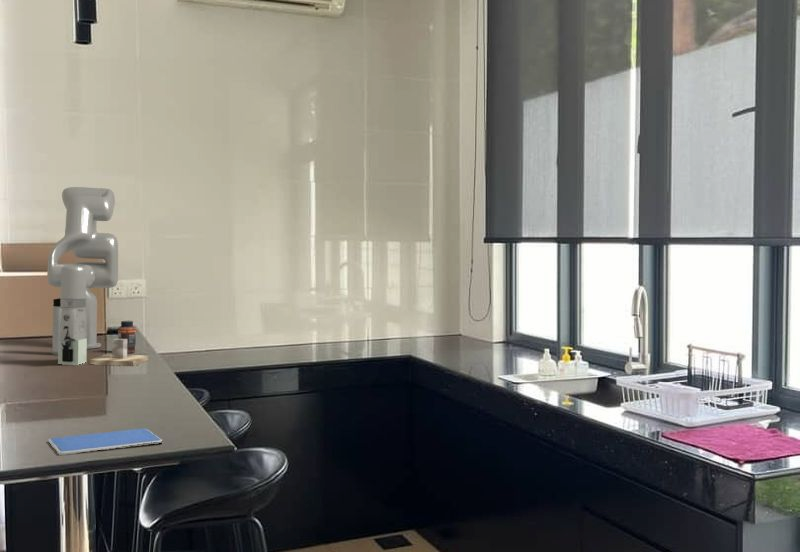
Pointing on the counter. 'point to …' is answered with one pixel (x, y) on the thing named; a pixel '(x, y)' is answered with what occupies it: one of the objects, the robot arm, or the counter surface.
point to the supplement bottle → (128, 335)
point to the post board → (118, 361)
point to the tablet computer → (102, 440)
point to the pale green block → (74, 352)
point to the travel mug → (56, 324)
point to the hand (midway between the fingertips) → (72, 359)
